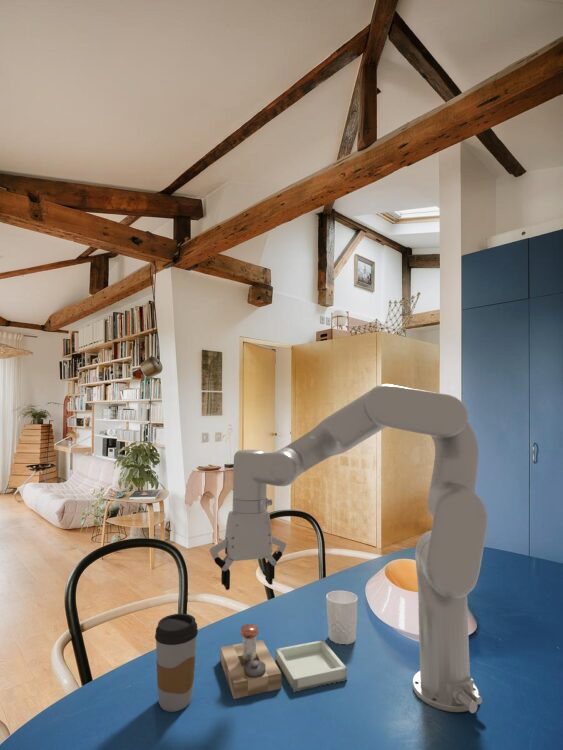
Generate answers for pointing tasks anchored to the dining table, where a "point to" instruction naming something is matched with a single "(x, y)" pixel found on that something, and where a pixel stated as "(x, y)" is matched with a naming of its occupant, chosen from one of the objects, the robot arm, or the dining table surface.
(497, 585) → the dining table surface
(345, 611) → the white cup
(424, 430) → the robot arm
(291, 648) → the tray
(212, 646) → the dining table surface
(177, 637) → the coffee cup
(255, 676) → the block
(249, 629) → the pin
